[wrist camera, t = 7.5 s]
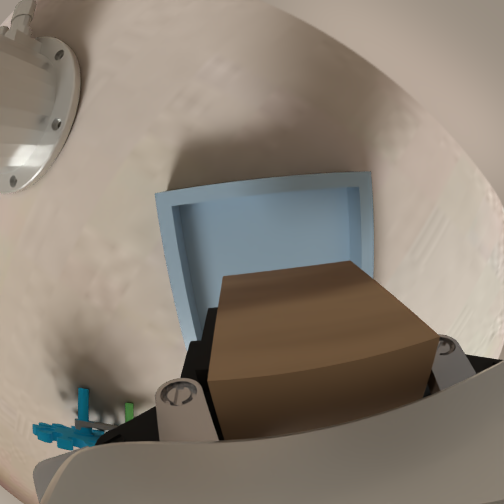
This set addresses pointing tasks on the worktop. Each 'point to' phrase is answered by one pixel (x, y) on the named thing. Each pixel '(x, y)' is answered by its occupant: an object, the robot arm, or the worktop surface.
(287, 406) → the block
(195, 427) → the robot arm
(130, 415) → the gear
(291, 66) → the worktop surface
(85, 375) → the worktop surface
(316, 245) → the tray
